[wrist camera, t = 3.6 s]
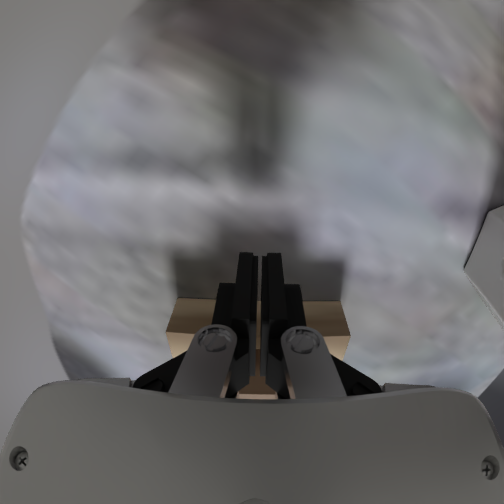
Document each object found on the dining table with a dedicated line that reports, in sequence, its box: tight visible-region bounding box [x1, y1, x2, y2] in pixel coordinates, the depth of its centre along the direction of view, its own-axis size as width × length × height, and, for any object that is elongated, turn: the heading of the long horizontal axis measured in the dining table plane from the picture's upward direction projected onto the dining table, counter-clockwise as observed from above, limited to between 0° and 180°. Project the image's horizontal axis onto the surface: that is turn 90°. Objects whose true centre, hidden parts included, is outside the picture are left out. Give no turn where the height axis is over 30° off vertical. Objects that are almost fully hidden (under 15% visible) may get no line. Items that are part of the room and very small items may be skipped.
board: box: [166, 298, 351, 361], centre depth 19 cm, size 12×10×3 cm
